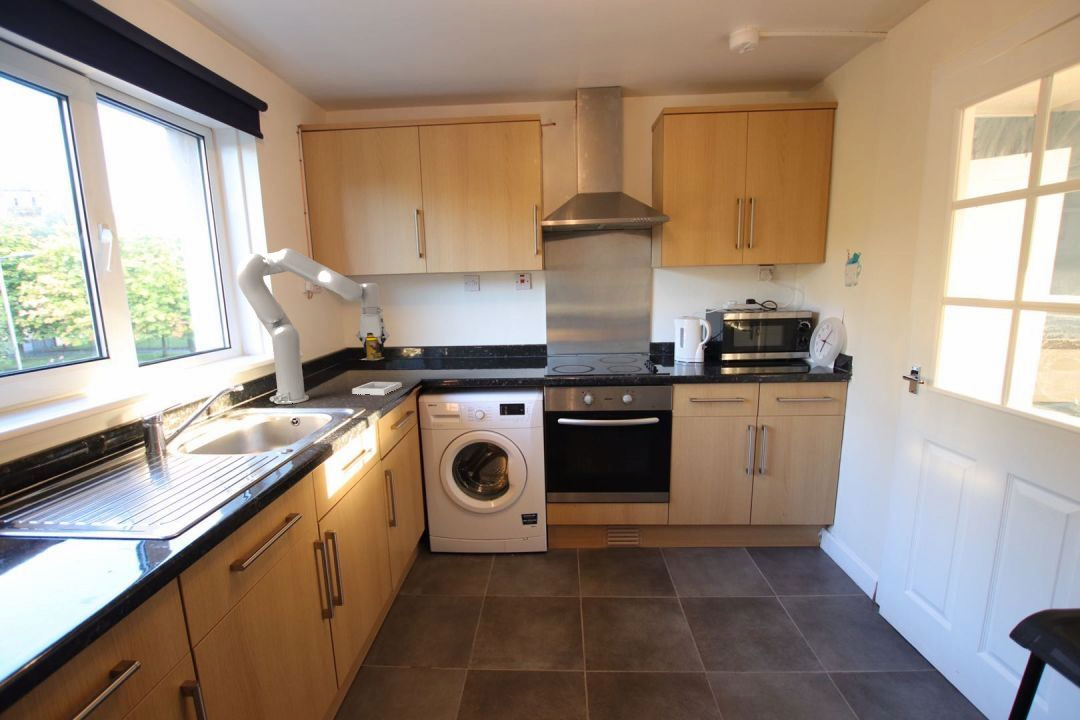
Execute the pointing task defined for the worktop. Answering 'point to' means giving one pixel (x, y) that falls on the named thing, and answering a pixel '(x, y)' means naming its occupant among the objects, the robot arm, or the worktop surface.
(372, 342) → the condiment
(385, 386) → the housing
